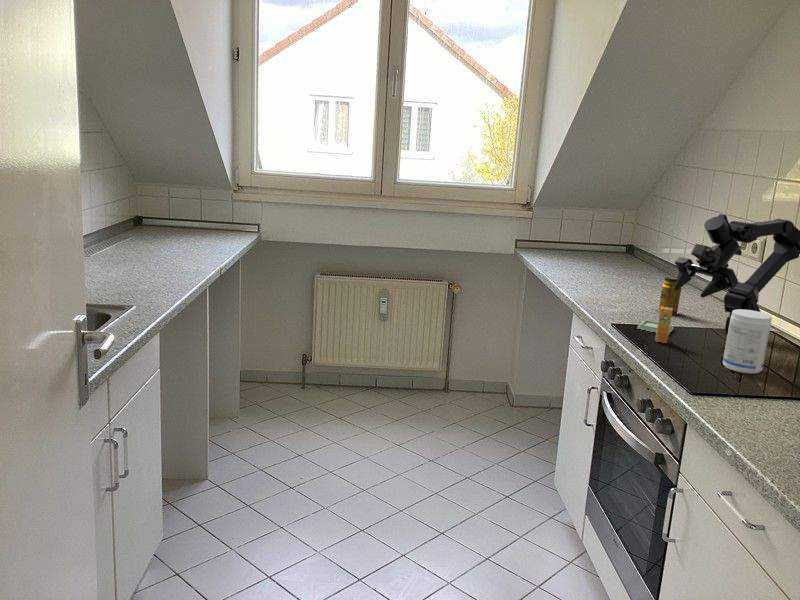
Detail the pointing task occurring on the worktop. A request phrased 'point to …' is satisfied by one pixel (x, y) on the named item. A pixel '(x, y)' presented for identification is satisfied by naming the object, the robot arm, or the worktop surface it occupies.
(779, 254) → the robot arm
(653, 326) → the plate
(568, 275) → the worktop surface
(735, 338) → the supplement tub
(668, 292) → the condiment
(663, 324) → the supplement box
